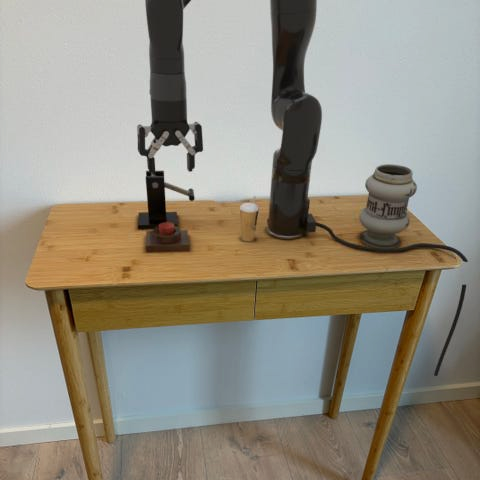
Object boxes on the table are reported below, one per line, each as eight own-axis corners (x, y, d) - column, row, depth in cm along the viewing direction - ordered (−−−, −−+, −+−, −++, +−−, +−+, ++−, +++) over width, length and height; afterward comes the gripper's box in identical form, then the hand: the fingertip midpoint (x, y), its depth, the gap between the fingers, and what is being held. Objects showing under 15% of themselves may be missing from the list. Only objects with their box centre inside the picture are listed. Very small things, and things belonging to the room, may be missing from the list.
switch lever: (191, 196, 128) (195, 187, 127) (192, 203, 124) (196, 195, 123) (148, 180, 124) (151, 171, 123) (148, 187, 120) (151, 178, 119)
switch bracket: (176, 215, 132) (175, 168, 125) (177, 228, 126) (175, 179, 118) (139, 216, 131) (134, 168, 123) (137, 229, 124) (133, 179, 117)
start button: (174, 228, 118) (174, 221, 117) (174, 235, 115) (174, 228, 114) (159, 229, 118) (158, 222, 117) (159, 235, 115) (158, 228, 114)
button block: (187, 236, 122) (187, 223, 120) (189, 251, 116) (188, 237, 114) (146, 237, 121) (145, 223, 119) (146, 252, 115) (144, 238, 113)
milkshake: (261, 235, 124) (263, 197, 118) (252, 244, 120) (254, 205, 114) (244, 232, 125) (246, 194, 119) (235, 240, 121) (237, 201, 115)
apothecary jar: (348, 230, 128) (360, 161, 118) (392, 228, 130) (407, 160, 120) (365, 252, 119) (380, 178, 108) (412, 249, 120) (431, 177, 110)
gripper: (137, 100, 98) (143, 180, 107) (206, 98, 102) (206, 175, 112) (131, 92, 104) (137, 169, 113) (196, 90, 108) (197, 164, 117)
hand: (171, 172), depth 112 cm, fingers open, 8 cm apart
